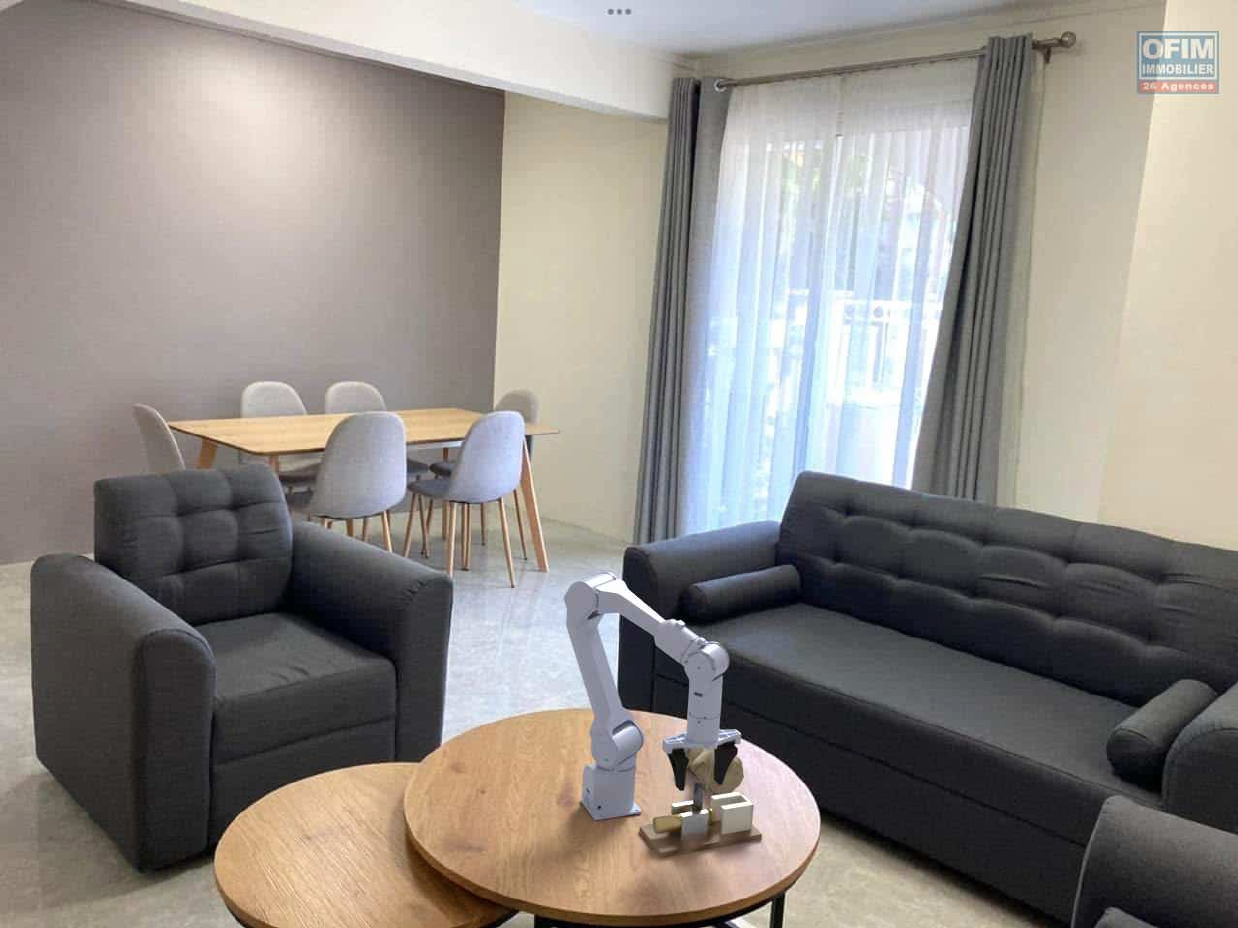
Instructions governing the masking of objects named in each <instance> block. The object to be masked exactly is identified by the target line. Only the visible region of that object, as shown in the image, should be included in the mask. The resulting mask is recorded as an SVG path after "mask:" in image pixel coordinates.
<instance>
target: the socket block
mask: <svg viewBox="0 0 1238 928" xmlns="http://www.w3.org/2000/svg"><path fill="white" fill-rule="evenodd" d="M709 808H712V809H713V811H714V813H715V821H719V820H722V825H721V834H728V833H734V832H739V831H745V830H750V829H752V824H753V819H754V817H753V816H754V803H753V802H752V801H751V800H749V798H747V797H746V796H745V795H744V794H743V793H742V792H741V791H735V792H734V791H733V792H731V793H727V794H721V795H711V796H710V806H709Z"/></svg>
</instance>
